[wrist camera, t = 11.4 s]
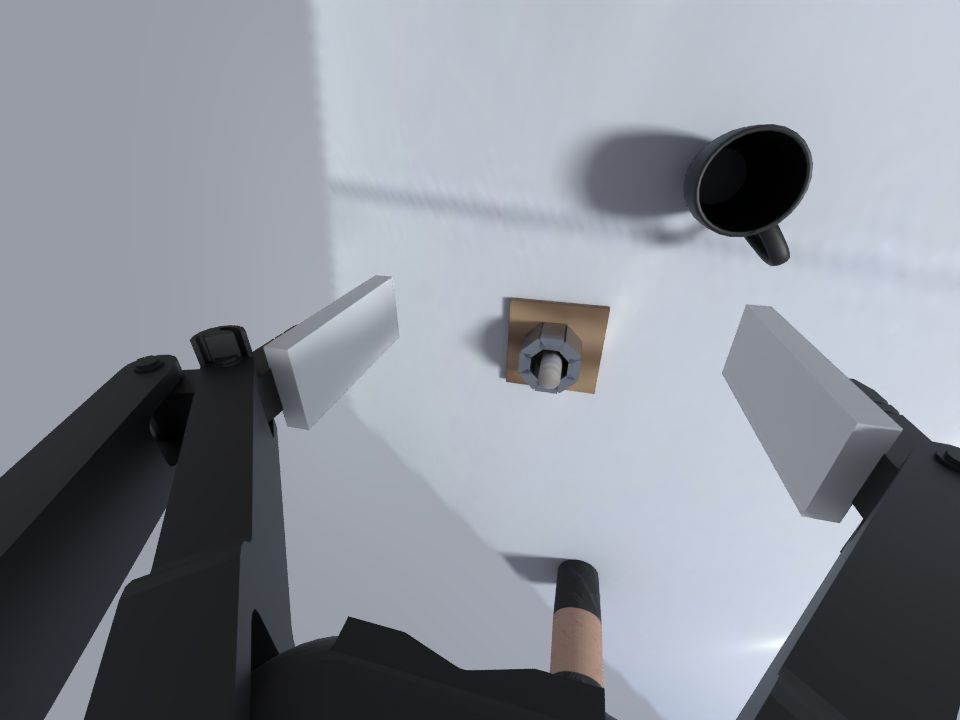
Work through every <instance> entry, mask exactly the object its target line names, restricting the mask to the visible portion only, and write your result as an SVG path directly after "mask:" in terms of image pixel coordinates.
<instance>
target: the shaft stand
mask: <svg viewBox="0 0 960 720" xmlns="http://www.w3.org/2000/svg"><path fill="white" fill-rule="evenodd" d="M609 312H610V307H607V306H597V305H586V304H575V303H565V302H554V301H543V300H533V299H522V298H511V301H510V319H509V337H508V354H507V372H506V382H511V383H518V384H526V385H528V384H527V383H526V381H525V380H524V379H523V378H522V377H521V376H520V375H519V373H518V368H519V354H520V350H521V347H522V344H523V341H524V338H525V336H526V334H527V333H528V332H530V331H531V330H532V329H534V328H535V327H536V326H538V325H539V324H540V323H543V324H544V322H553V323H562V324H566V326H567V325H568V326H569V327H570V328H571V329H572V330H573V331H574V333H575V334H576V335H577V336H578V337H579V338H580V339H581V342H582V360H581V367H580V373H579V379H578V380H577V382H576V383H575V384H573V385H572V386H570V387H568V388H567V389H565V390H570V391H577V392H584V393H592V394H594V393H595V387H596V382H597V377H598V371H599V366H600V360H601V355H602V350H603V344H604V339H605V333H606V328H607V323H608V317H609ZM536 355H537V356H538V357H539V358H540V359H541V365H540V370H539V374H538V382H539V384H540V385H541V386H542V387H543V388H546V389H554V388H556V387H557V386H558V385H559V384H560V378H561V369H562V361H563V360H564V359H565V358H564V356H563V355H562V354H561V353H560V352H559V351H554V350H545V349H543V350H541V351H540V352H538V353H537V354H536Z"/></svg>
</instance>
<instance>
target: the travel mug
mask: <svg viewBox="0 0 960 720" xmlns="http://www.w3.org/2000/svg"><path fill="white" fill-rule="evenodd" d="M552 631H553V632H552V647H551V665H550V673H552V674H555V675H559V676H562V677H566V678H569V679H573V680H577V681H580V682H584V683H587V684H591V685H594V686H598V687H601V688H603V664H602V625H601V609H600V593H599V579H598V573H597V571H596V569H595V568H594V567H593V566H592V565H590V564H588V563H586V562H583V561H579V560H569V561H565V562H563V563H562V564H561V565H560V566H559V568H558V575H557V584H556V594H555V604H554V615H553V630H552Z"/></svg>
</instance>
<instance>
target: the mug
mask: <svg viewBox="0 0 960 720" xmlns="http://www.w3.org/2000/svg"><path fill="white" fill-rule="evenodd" d="M812 168H813V162H812V156H811V152H810V150H809V148H808V146H807V144H806V142H805V140H804V139H803V138H802V137H801V136H800V135H799V134H798V133H797V132H795V131H793V130H791V129H789V128H787V127H784V126H779V125H774V124H766V125H754V126H748V127H743V128H739V129H736V130H732V131H730V132H728V133H726V134H724V135H722V136H720V137H718V138H716V139H715V140H713V141H712V142H711V143H709V144H708V145H707V146H705V147H704V148H703V149H702V150H701V151H700V152H699V153H698V155H697V156H696V157H695V158H694V160H693V161H692V163H691V165H690V166H689V169H688V171H687V174H686V177H685V182H684V197H685V200H686V204H687V207H688V208H689V210H690V212H691V213H692V215H693V217H694V218H695V219H697V220H698V221H699V222H700V223H701V224H702V225H704V226H705V227H707V228H708V229H710V230H712V231H714V232H716V233H718V234H720V235H725V236H729V237H744V238H745V239H746V240H747V242H748V243H749V244H750V245H751V247H752V248H753V249H754V250H755V252H756V253H757V254H758V255H759V256H760V257H761V259H762V260H763V261H764V262H766V263H767V264H769V265H770V266H778V265H781V264H783V263H785V262H787V261H788V259H789V258H790V252H789V248H788V245H787V243H786V240H785V238H784V236H783V234H782V232H781V230H780V228H779V226H778V223H780V222H781V221H782V220H784V219H785V218H786V217H787V216H788V215H789V214H791V213H792V211H793V210H794V209H795V208H796V207H797V206H798V204H799V203H800V202H801V200H802V198H803V197H804V195H805V193H806V191H807V190H808V187H809V183H810V180H811V177H812Z"/></svg>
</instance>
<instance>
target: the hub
mask: <svg viewBox="0 0 960 720" xmlns="http://www.w3.org/2000/svg"><path fill="white" fill-rule="evenodd" d="M543 349H545V350H554V351H559V352H560V353H561V354H562V355H563V356H564V358H565V359H564V360H563V361H562V369H561V378H560V384H559V385H558V386H557V387H556V388H554V389H546V388H543V387H542V386H541V385H540V384H539V382H538V374H539V370H540V365H541V359H540V358H539V357H538V356H537V355H536V354H537V353H538V352H540V351H541V350H543ZM581 360H582V342H581V339H580V338H579V337H578V336H577V335H576V334H575V333H574V331H573V330H572V329H571V328H570V327H569V326H568V325H567V326H566V324H562V323H553V322H544V324H543V323H540V324H539V325H538V326H536V327H535V328H534V329H532V330H531V331H530V332H528V333H527V334H526V336H525V338H524V341H523V344H522V347H521V350H520V354H519V368H518V373H519V375H520V376H521V377H522V378H523V379H524V380H525V381H526V383H527V384H528V385H529V386H530V387H531V388H532V389H535V391H541V392H549V393H556V394H557V391H558V393H560V392H562V391H564V390H565V389H567V388H568V387H570V386H572V385H573V384H575V383H576V382H577V380H578V379H579V373H580V367H581Z"/></svg>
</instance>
